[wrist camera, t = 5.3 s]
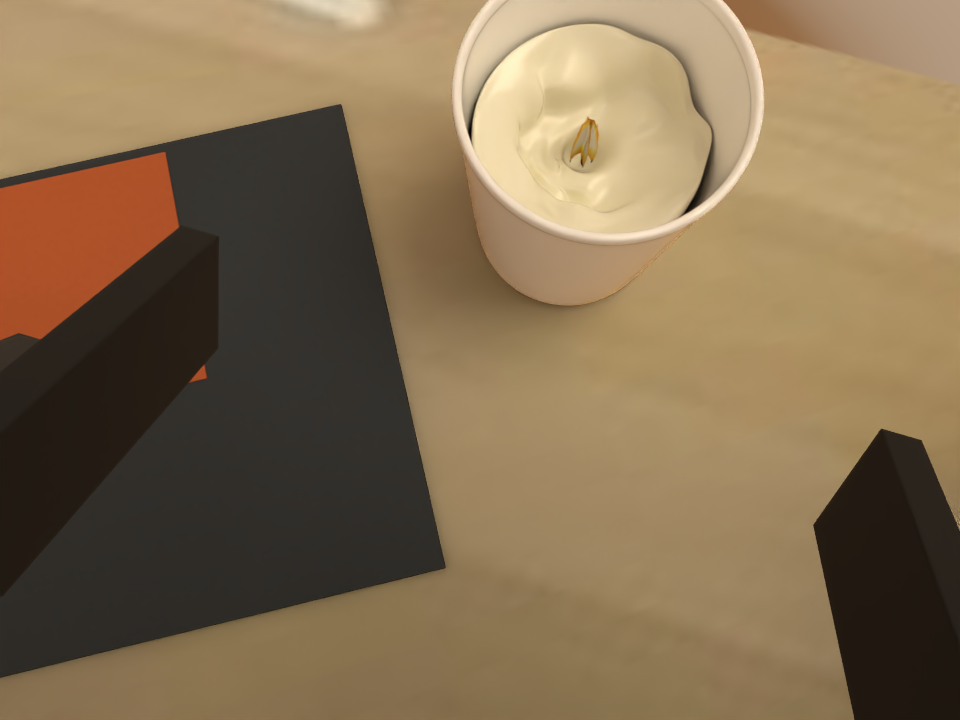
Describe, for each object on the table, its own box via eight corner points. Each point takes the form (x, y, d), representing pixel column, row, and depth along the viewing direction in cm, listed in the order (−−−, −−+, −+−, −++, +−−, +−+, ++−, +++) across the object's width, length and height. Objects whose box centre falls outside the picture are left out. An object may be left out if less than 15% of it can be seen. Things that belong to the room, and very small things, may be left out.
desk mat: (341, 106, 37) (340, 102, 36) (445, 567, 33) (445, 568, 33) (-76, 199, 36) (-82, 196, 35) (-14, 680, 32) (-20, 682, 32)
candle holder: (620, 93, 37) (686, -93, 25) (705, 277, 35) (819, 173, 23) (429, 165, 36) (405, 10, 24) (507, 355, 35) (522, 289, 23)
